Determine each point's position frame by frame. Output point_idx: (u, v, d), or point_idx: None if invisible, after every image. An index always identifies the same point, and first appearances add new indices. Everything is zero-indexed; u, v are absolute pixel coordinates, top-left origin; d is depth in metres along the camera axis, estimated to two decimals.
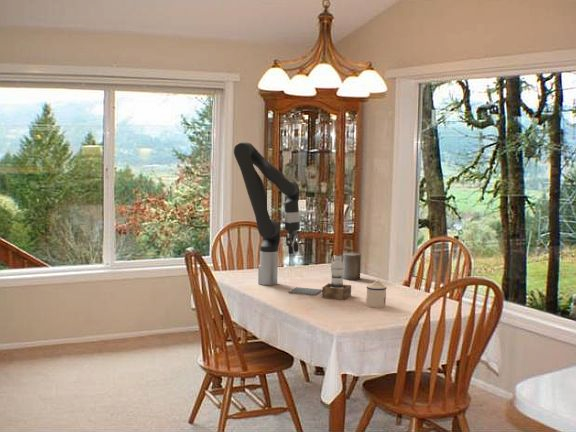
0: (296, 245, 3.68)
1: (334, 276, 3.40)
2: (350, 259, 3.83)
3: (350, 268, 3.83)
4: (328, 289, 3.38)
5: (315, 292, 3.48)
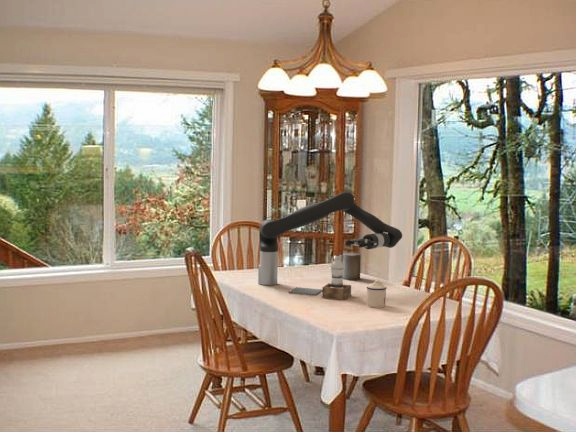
0: (350, 243, 3.53)
1: (334, 276, 3.40)
2: (350, 259, 3.83)
3: (350, 268, 3.83)
4: (328, 289, 3.38)
5: (315, 292, 3.48)
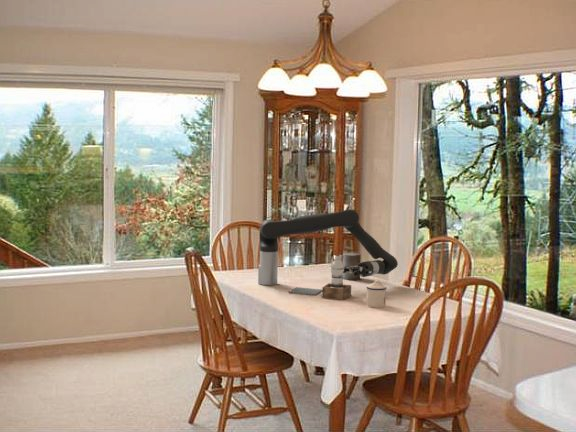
0: (345, 271, 3.52)
1: (334, 276, 3.40)
2: (350, 259, 3.83)
3: None
4: (328, 289, 3.38)
5: (315, 292, 3.48)
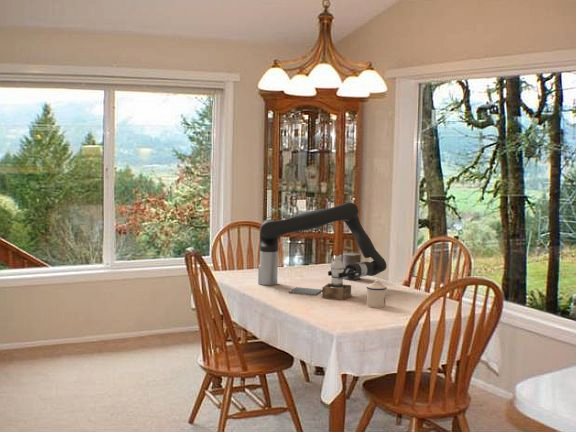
0: None
1: (334, 276, 3.40)
2: (350, 259, 3.83)
3: None
4: (328, 289, 3.38)
5: (315, 292, 3.48)
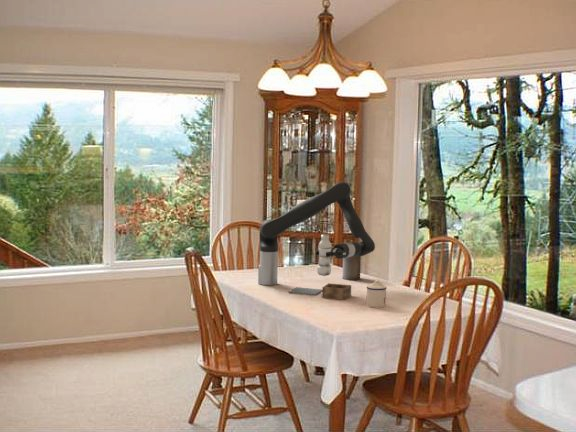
0: None
1: (321, 255, 3.42)
2: (350, 259, 3.83)
3: (350, 268, 3.83)
4: (328, 289, 3.38)
5: (315, 292, 3.48)
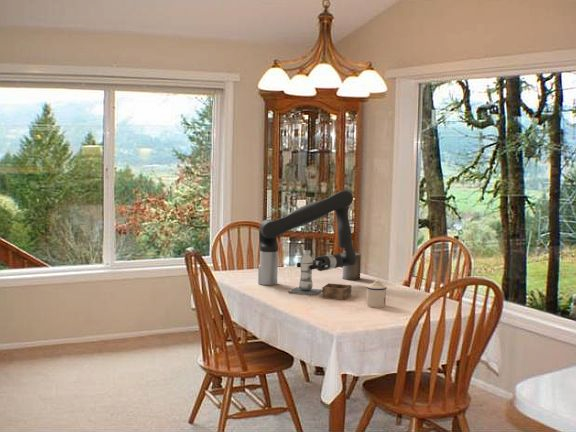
0: None
1: (303, 270, 3.49)
2: None
3: (350, 268, 3.83)
4: (328, 289, 3.38)
5: (315, 292, 3.48)
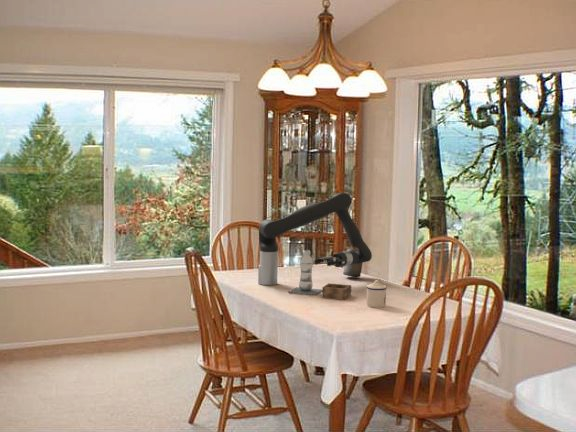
0: (319, 261, 3.64)
1: (303, 270, 3.49)
2: None
3: None
4: (328, 289, 3.38)
5: (315, 292, 3.48)
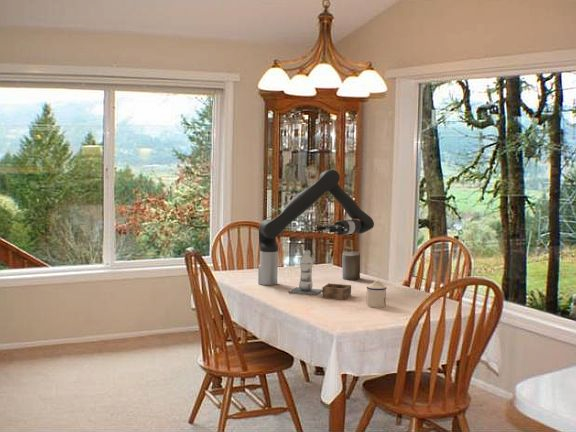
0: (322, 229, 3.63)
1: (303, 270, 3.49)
2: (347, 259, 3.82)
3: (348, 268, 3.83)
4: (328, 289, 3.38)
5: (315, 292, 3.48)
